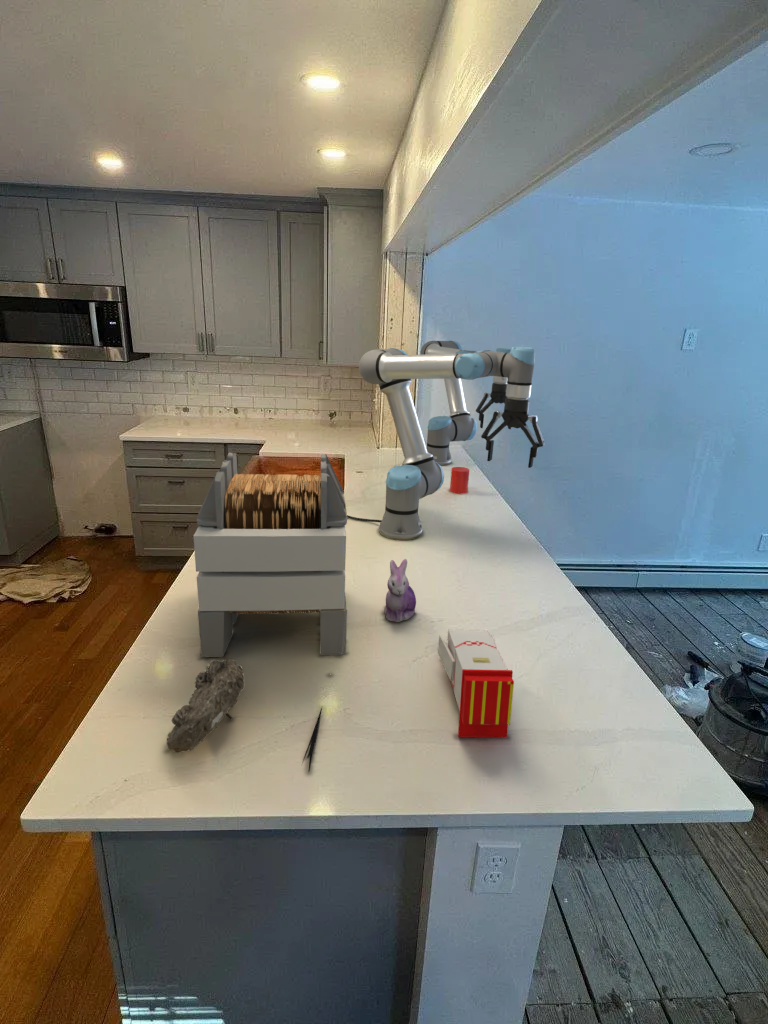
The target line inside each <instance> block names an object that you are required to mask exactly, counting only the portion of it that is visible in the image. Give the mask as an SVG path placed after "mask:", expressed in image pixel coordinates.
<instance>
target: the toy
mask: <svg viewBox="0 0 768 1024" xmlns="http://www.w3.org/2000/svg"><path fill="white" fill-rule="evenodd" d="M446 640H447V643H446V641H445V639H444V636H443V635H442V634H439V637H438V646H437V656H438V657H439V659H440V661H441V663H442V666H443V668H444V670H445V672H446V674H447V677H448V679H449V681H450V684H451V687H452V690H453V693H454V697H455V701H456V705H457V708H458V711H459V714H458V715H459V716H458V730H457V731H458V732H457V737H458V738H508V731H509V726H510V725H511V717H512V707H513V697H514V696H513V695H514V684H515V680H514V679H513V673H514V671H513V670H512V669H508V667H507V665H506V662H505V661H504V659H503V658H502V655H501V653H500V651H499V649H498V647H497V643H496V639H495V637H494V635H493V634H491V632H490V631H489V629H467V628H466V629H465V628H463V629H461V628H460V629H459V628H448V630H447V639H446Z"/></svg>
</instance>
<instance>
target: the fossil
mask: <svg viewBox="0 0 768 1024" xmlns="http://www.w3.org/2000/svg"><path fill="white" fill-rule="evenodd" d="M243 670H244V669H243V667H242V665H240V664H237V662H236V661H235V660H234V659H232V658H231V659H227V658H226V659H224V660H223V661H222V660H217V659H212V660H211V661H210V663H209V665H208V666H207V671H201V672H199V673H198V674H197V675H196V676H195V680H194V684H195V685H194V687H195V689H194V690H193V693H192V694H191V697H190V698H189V700H188V704H184V705H182V706H181V707H180V709H177V710H176V711H175V713H174V715H173V716H172V718H171V723H172V724H173V727H172V730H171V731H170V732H168V734H167V738H166V741H167V742H166V745H167V749H168V750H169V751H173V752H174V753H176V754H178V753H182V752H188V751H189V752H192V751H193V750H195V748H196V747H197V746H199V744H200V743H201V742H203V741H204V740H205V739H206V738H207V737H208V736H209V735H210V734H211V733H212V732H214V730H215V729H217V727H218V726H219V724H220V722H221V721H222V720H223V719H224V718H225V716H226V717H227V719H229V720H233V717H232V715H230V714H229V710H230V709H231V708H234V706H235V704H236V703H237V702H238V699H239V697H240V695H241V693H242V691H243V690H245V689H244V688H245V675H244V671H243Z"/></svg>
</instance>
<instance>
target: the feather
mask: <svg viewBox="0 0 768 1024" xmlns="http://www.w3.org/2000/svg"><path fill="white" fill-rule="evenodd" d="M329 675H330V676H331V675H332V674H331V673H330V674H329ZM322 710H323V707H321V708H320V710H319V713H318V716H317V719H316V723H315V725H314V728H313V731H312V733H311V737H310V739H309V742H308V745H307V748H306V751H305V754H304V757H303V760H302V763H301V767H302V765H303V763H304V761H305V758H308V759H309V760H308V762H307V763H308V764H307V766H308V771H310V770H311V766H312V765H311V764H312V760H313V757H315V756H314V755H315V751H316V749H315V746H317V739H318V733H319V729H320V722H321V717H322V712H323V711H322ZM313 754H314V755H313ZM306 755H307V757H306Z"/></svg>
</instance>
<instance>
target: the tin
mask: <svg viewBox="0 0 768 1024" xmlns="http://www.w3.org/2000/svg"><path fill="white" fill-rule="evenodd" d="M469 479H470V469H469V468H468V467H465V466H452V467H451V470H450V481H449V492H450V493H453V494H458V495H464V494H467V493H468V489H469Z"/></svg>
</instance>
